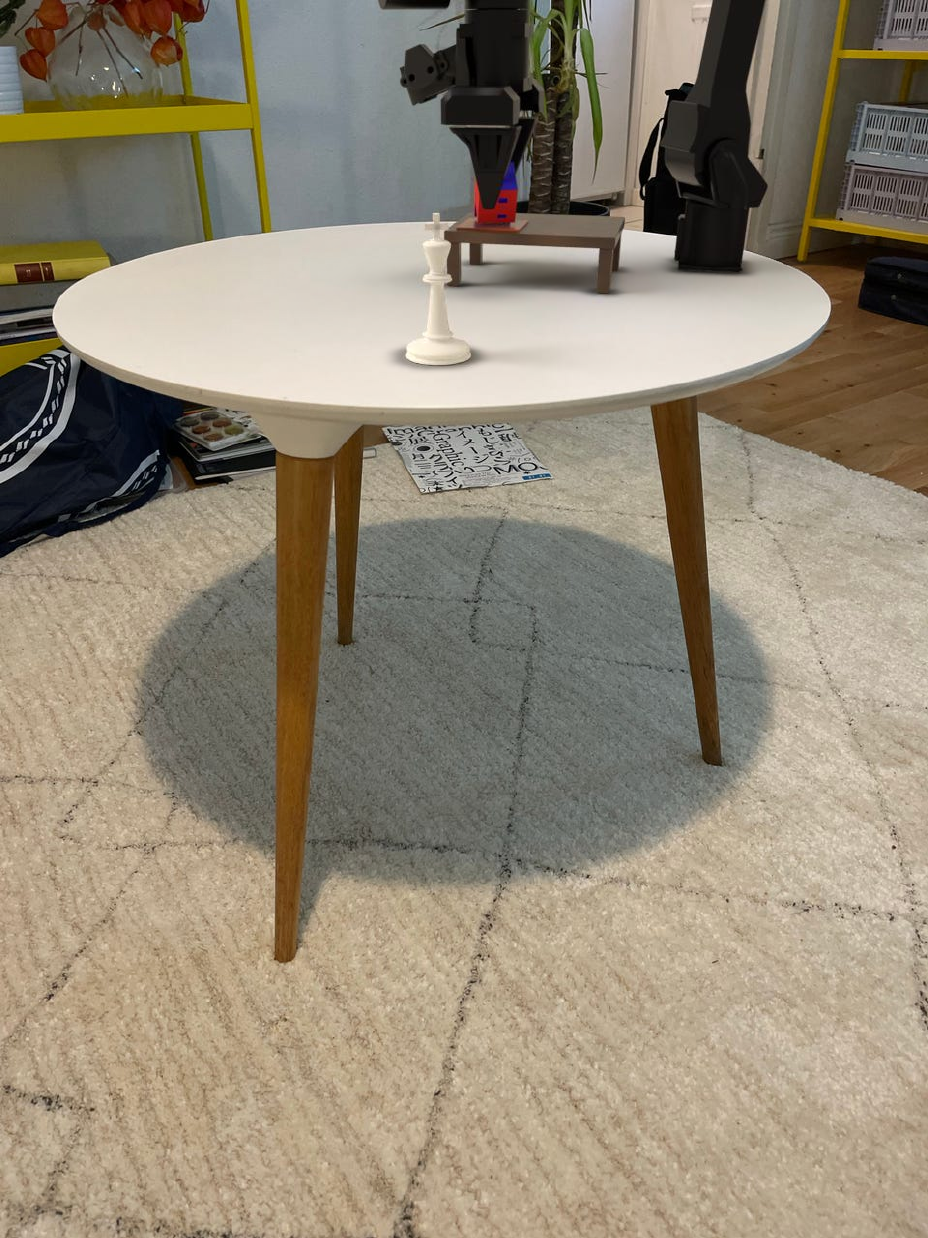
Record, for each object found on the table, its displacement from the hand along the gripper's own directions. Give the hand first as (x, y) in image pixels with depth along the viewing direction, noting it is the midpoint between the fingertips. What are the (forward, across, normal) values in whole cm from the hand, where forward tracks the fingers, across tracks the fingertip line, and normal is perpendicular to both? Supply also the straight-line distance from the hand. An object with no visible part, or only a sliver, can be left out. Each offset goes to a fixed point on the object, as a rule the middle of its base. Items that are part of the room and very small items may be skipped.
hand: (495, 203), depth 91 cm
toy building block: (+2, 0, 0) cm, 2 cm away
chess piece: (+7, +27, +1) cm, 28 cm away
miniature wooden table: (+7, -2, +4) cm, 8 cm away
